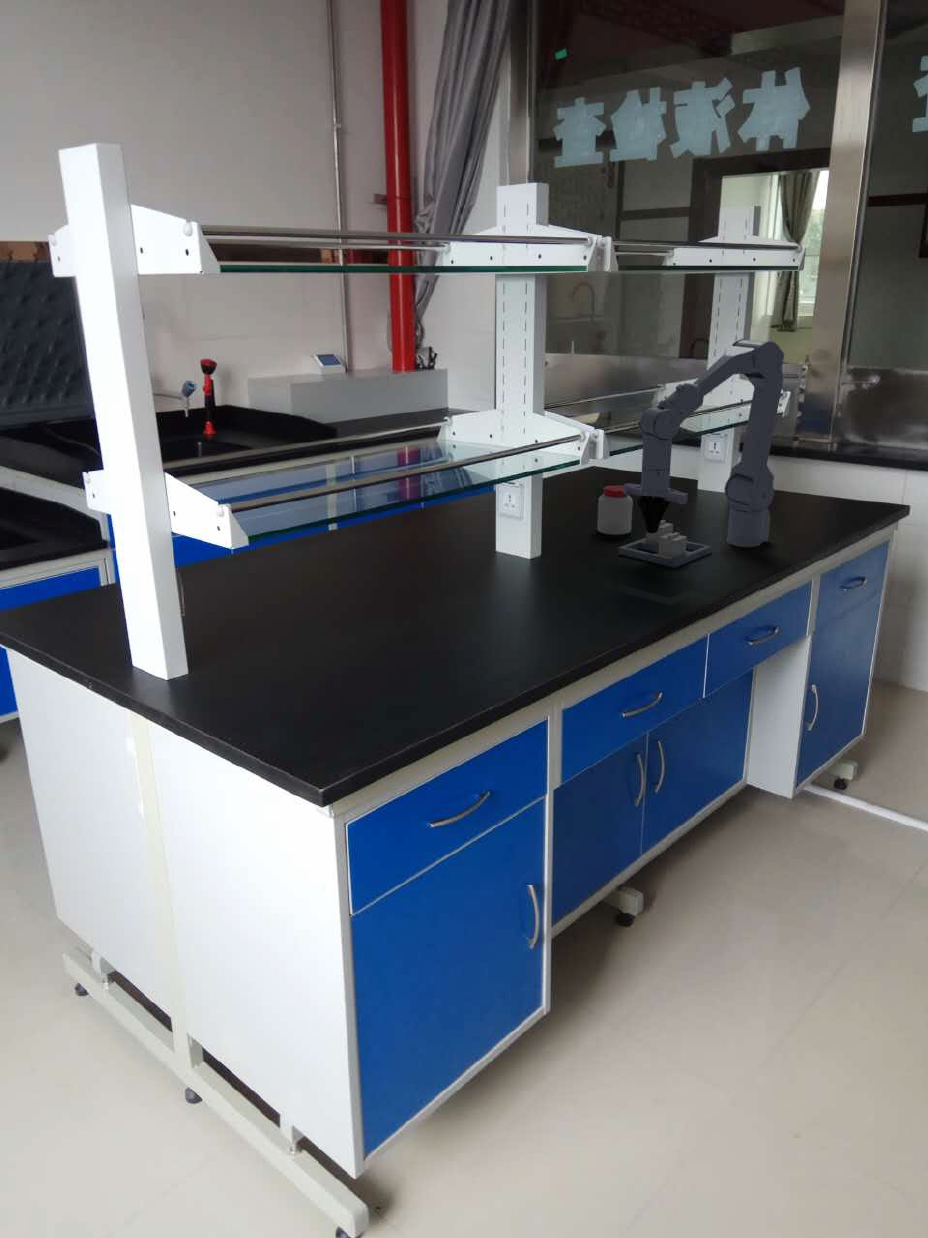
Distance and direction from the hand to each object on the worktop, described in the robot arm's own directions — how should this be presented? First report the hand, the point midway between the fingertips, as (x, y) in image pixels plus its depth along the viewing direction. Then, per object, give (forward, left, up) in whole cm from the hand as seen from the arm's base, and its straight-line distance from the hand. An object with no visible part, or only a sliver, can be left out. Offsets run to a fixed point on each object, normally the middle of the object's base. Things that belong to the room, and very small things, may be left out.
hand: (652, 532), depth 194 cm
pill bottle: (-11, -18, -6) cm, 22 cm away
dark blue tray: (-3, -1, -6) cm, 7 cm away
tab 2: (-6, -2, -5) cm, 8 cm away
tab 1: (0, +5, -5) cm, 7 cm away
